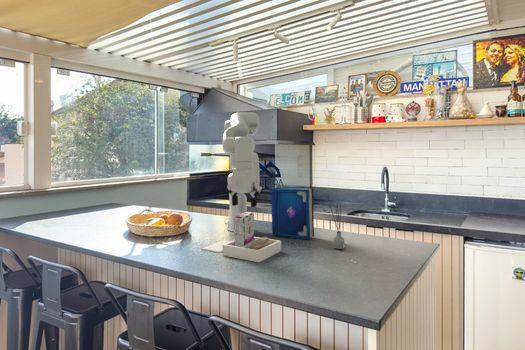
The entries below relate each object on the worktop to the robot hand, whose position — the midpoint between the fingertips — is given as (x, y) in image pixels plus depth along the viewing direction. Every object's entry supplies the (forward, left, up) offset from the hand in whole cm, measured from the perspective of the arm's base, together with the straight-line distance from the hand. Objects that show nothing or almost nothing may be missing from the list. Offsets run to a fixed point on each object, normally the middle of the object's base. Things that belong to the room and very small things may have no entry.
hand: (244, 206), depth 153 cm
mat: (-14, +1, -20) cm, 24 cm away
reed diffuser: (+32, +25, -20) cm, 46 cm away
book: (+5, +34, -20) cm, 40 cm away
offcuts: (+8, 0, -20) cm, 22 cm away
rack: (+4, 0, -20) cm, 20 cm away
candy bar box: (0, 0, -20) cm, 20 cm away
